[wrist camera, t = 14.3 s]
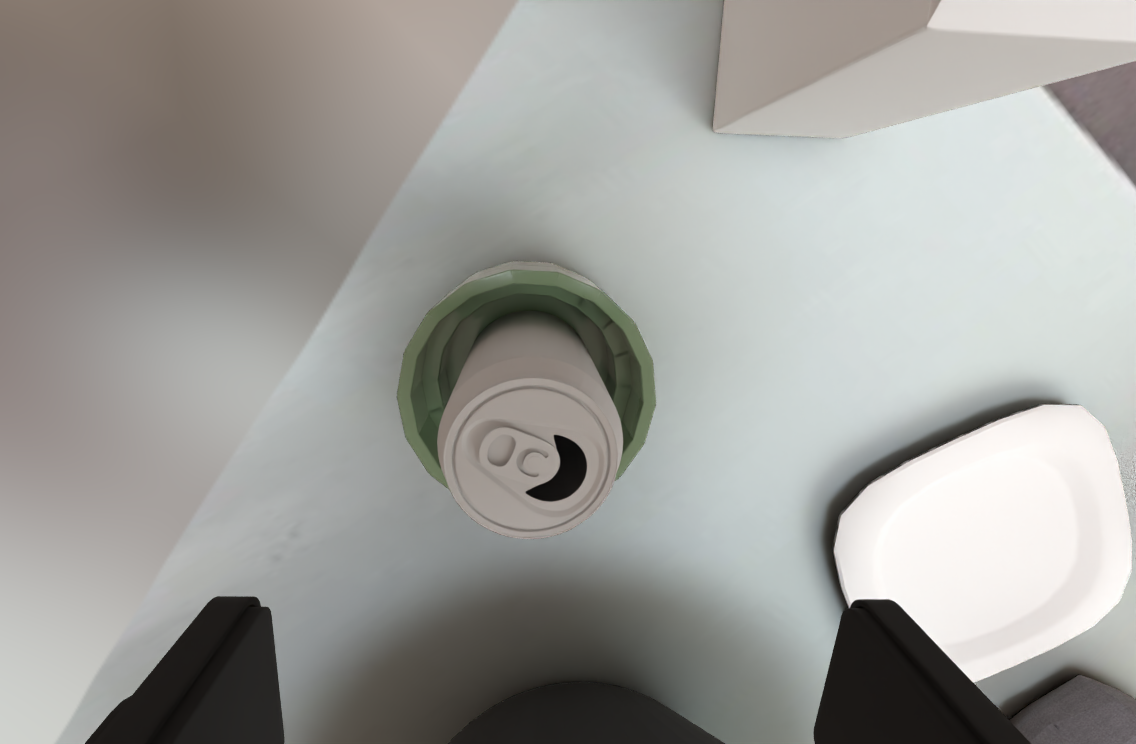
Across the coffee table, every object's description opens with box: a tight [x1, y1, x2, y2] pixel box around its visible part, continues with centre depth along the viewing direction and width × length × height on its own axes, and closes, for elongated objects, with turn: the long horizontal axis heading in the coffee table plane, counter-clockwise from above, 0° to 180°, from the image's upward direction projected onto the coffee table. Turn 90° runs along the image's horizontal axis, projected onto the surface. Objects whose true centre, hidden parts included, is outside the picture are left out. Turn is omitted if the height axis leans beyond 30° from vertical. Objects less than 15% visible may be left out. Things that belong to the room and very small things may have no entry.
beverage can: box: [437, 311, 623, 539], centre depth 23 cm, size 6×6×12 cm
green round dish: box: [397, 261, 656, 490], centre depth 26 cm, size 11×11×6 cm
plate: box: [832, 404, 1132, 683], centre depth 34 cm, size 18×18×2 cm
